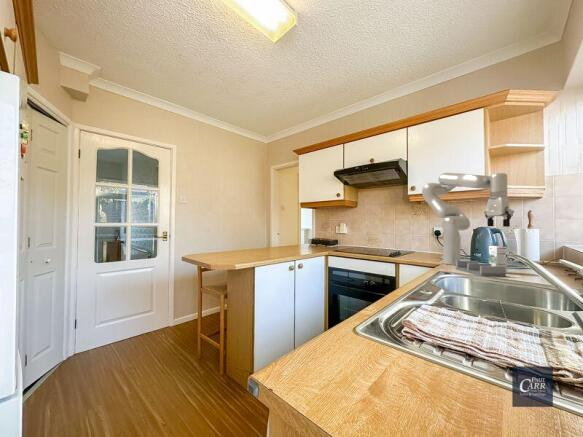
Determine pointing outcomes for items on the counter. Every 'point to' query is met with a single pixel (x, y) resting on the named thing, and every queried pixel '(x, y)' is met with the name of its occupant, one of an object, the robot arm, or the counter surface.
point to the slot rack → (480, 268)
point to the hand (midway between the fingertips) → (498, 226)
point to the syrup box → (497, 256)
